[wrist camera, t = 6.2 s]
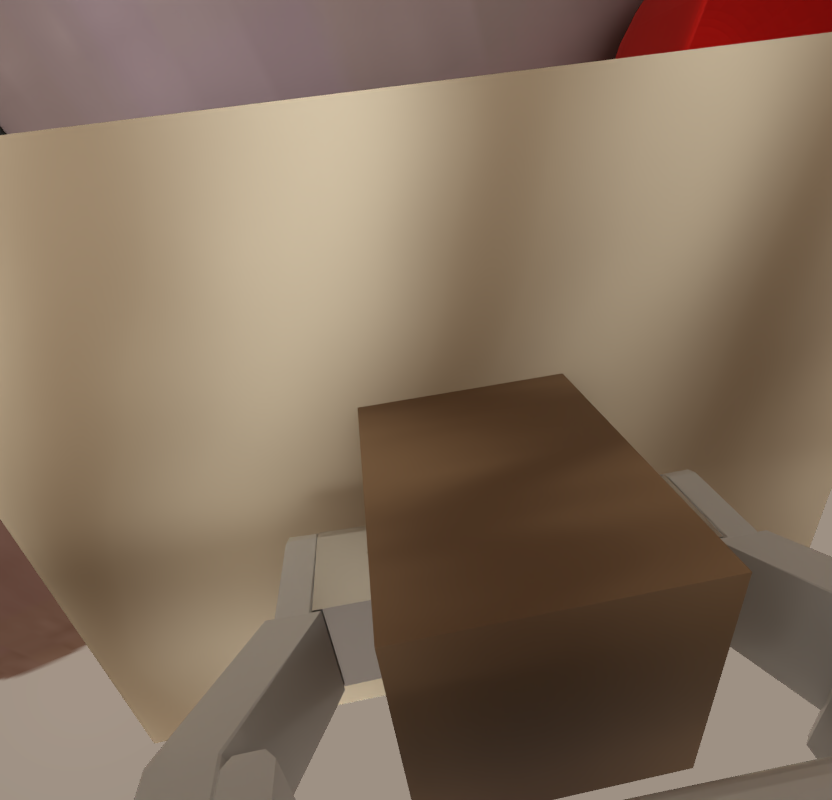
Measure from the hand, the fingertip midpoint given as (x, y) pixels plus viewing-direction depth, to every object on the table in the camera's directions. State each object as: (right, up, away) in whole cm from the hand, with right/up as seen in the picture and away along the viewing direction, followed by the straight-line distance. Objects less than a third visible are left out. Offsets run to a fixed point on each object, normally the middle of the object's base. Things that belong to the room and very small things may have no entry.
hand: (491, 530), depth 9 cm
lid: (0, +1, +2) cm, 3 cm away
